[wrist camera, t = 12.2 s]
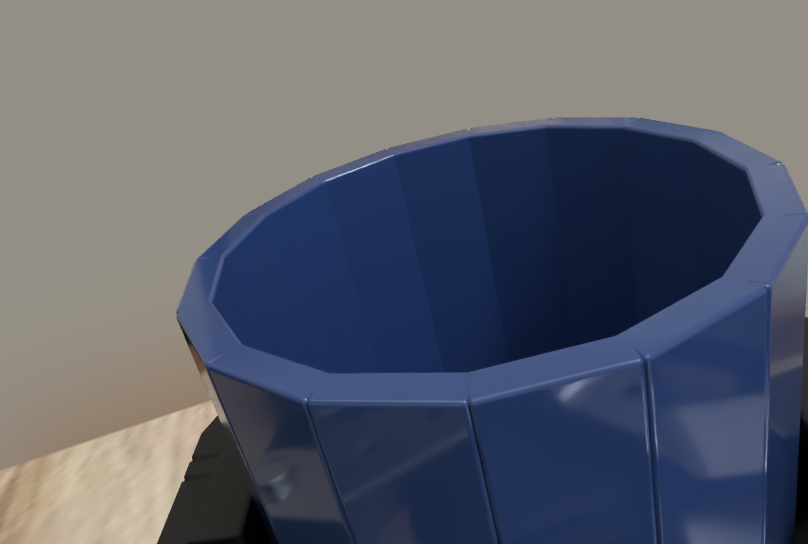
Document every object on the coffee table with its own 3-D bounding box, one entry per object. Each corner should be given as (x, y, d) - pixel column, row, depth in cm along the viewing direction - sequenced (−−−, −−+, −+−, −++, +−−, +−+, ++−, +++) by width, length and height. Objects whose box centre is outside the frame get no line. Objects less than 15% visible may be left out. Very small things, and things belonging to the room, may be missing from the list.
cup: (534, 1121, 9) (311, 553, 4) (326, 690, 14) (134, 243, 10) (873, 777, 11) (967, 170, 6) (581, 520, 16) (521, 96, 12)
